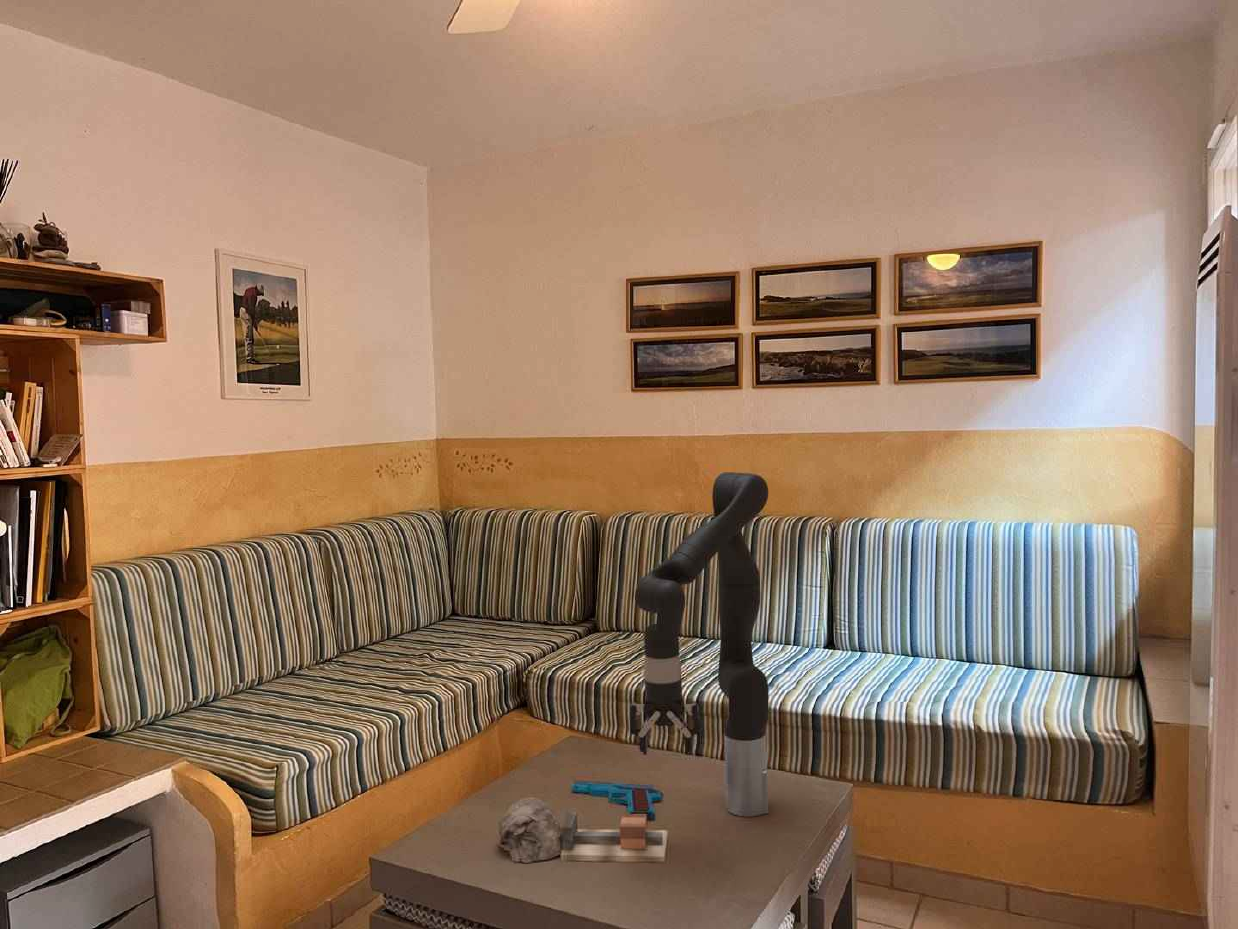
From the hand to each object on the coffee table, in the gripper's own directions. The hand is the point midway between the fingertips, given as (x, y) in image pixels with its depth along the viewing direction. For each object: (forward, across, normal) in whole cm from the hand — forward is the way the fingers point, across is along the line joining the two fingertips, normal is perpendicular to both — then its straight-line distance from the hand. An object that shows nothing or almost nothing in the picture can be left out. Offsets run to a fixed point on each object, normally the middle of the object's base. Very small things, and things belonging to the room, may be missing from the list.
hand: (665, 753), depth 193 cm
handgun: (+21, +14, -20) cm, 32 cm away
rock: (+20, +29, +2) cm, 35 cm away
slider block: (+19, +7, 0) cm, 20 cm away
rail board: (+20, +11, 0) cm, 23 cm away
